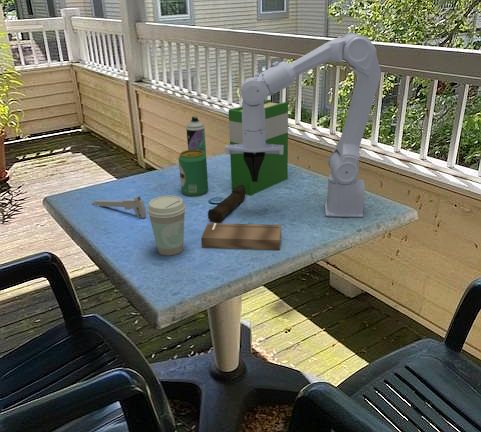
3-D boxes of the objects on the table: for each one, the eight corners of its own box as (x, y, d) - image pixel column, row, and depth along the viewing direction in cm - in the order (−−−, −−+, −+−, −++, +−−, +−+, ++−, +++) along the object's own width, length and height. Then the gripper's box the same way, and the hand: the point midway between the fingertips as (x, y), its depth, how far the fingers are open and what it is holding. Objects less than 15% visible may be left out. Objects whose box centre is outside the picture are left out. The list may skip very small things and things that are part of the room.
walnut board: (281, 234, 117) (281, 224, 116) (279, 249, 110) (279, 239, 109) (208, 232, 119) (207, 222, 118) (201, 247, 112) (201, 237, 111)
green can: (179, 189, 147) (175, 151, 142) (204, 185, 149) (202, 147, 144) (184, 198, 140) (181, 158, 135) (211, 194, 142) (208, 155, 137)
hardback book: (269, 174, 156) (268, 99, 146) (287, 179, 152) (288, 102, 142) (231, 190, 145) (228, 109, 135) (250, 195, 140) (248, 113, 130)
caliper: (146, 218, 128) (144, 196, 126) (143, 220, 128) (141, 198, 125) (94, 203, 139) (91, 183, 136) (91, 205, 138) (87, 184, 135)
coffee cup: (157, 262, 106) (151, 212, 101) (148, 245, 114) (142, 198, 109) (194, 253, 109) (190, 205, 104) (183, 238, 117) (178, 192, 112)
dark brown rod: (221, 224, 123) (220, 208, 121) (207, 222, 125) (206, 205, 123) (253, 198, 139) (253, 183, 137) (241, 196, 140) (240, 181, 138)
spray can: (192, 175, 157) (187, 114, 149) (209, 176, 156) (205, 114, 148) (188, 181, 152) (183, 118, 144) (205, 182, 151) (201, 118, 143)
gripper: (284, 124, 122) (283, 175, 127) (227, 124, 124) (229, 174, 129) (282, 131, 115) (282, 184, 121) (222, 131, 117) (225, 184, 123)
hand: (255, 180), depth 125 cm, fingers closed
